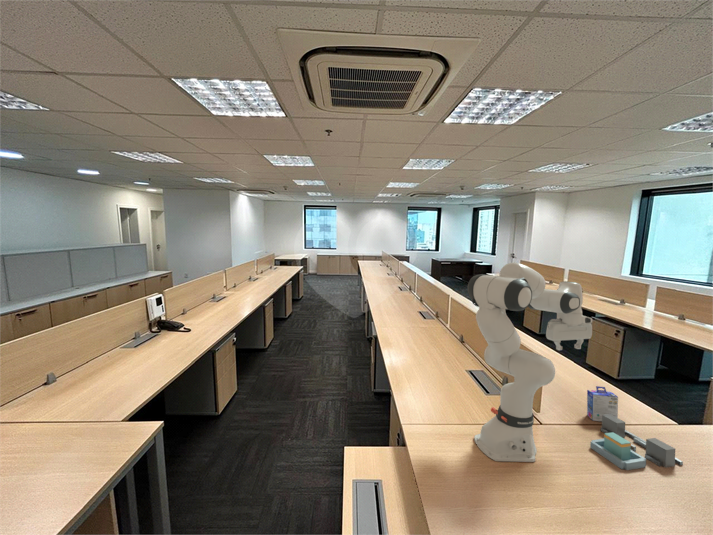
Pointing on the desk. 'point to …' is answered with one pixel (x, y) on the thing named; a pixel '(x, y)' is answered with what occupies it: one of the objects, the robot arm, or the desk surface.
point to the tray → (633, 463)
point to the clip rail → (643, 444)
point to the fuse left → (613, 424)
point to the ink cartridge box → (601, 404)
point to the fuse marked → (617, 446)
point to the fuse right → (661, 452)
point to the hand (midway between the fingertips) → (568, 349)
